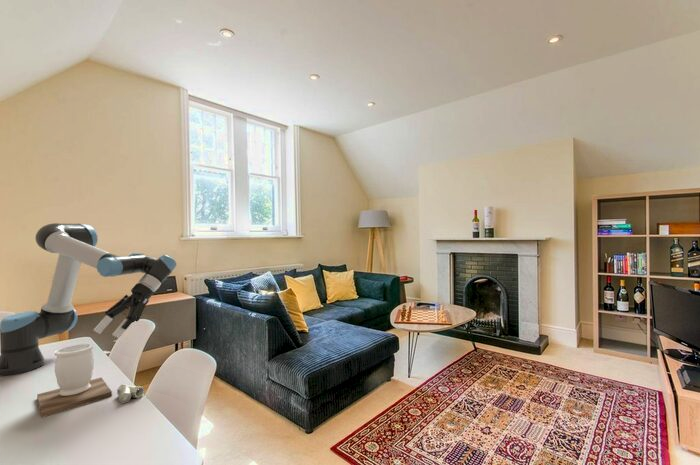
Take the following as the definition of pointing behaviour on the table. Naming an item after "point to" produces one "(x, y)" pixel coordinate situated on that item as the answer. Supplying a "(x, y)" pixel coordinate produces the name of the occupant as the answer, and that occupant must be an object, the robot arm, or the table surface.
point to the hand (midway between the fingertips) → (105, 334)
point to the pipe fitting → (129, 392)
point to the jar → (74, 368)
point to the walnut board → (72, 398)
